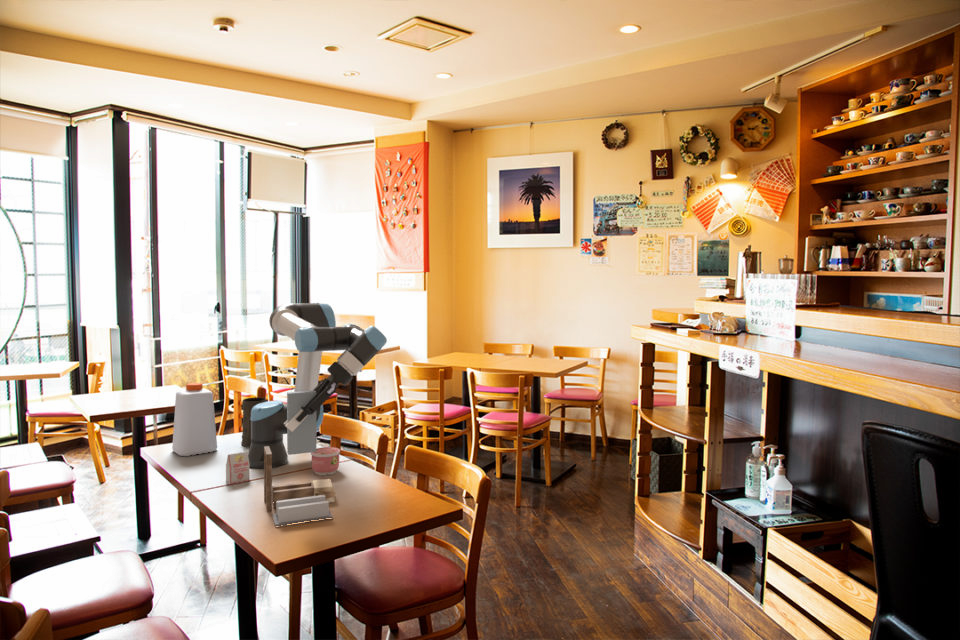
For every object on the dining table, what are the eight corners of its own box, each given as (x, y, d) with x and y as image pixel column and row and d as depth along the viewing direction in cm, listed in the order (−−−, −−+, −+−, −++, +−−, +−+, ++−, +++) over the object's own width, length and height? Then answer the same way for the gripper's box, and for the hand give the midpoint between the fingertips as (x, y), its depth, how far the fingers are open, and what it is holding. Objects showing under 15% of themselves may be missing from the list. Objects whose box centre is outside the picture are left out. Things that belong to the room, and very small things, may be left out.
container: (311, 477, 208) (311, 455, 208) (310, 469, 218) (310, 448, 218) (341, 475, 212) (341, 453, 211) (338, 466, 222) (338, 446, 221)
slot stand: (327, 508, 179) (327, 493, 179) (332, 519, 171) (332, 503, 171) (272, 516, 172) (272, 500, 172) (275, 527, 164) (275, 510, 164)
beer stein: (237, 442, 254) (237, 397, 252) (261, 438, 261) (262, 395, 258) (249, 452, 242) (249, 406, 240) (274, 448, 249) (275, 403, 247)
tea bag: (226, 481, 202) (225, 453, 202) (245, 477, 207) (245, 450, 206) (230, 484, 200) (229, 455, 199) (249, 480, 204) (249, 452, 204)
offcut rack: (330, 492, 194) (330, 440, 193) (335, 502, 184) (335, 447, 184) (264, 500, 185) (263, 446, 184) (266, 511, 176) (266, 454, 175)
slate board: (315, 449, 175) (314, 390, 174) (316, 451, 173) (316, 391, 172) (287, 452, 171) (287, 392, 171) (288, 454, 169) (288, 393, 168)
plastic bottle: (208, 444, 250) (208, 379, 249) (220, 451, 239) (219, 384, 238) (169, 450, 240) (169, 383, 239) (180, 458, 229) (179, 388, 228)
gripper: (359, 380, 170) (301, 441, 164) (348, 373, 185) (293, 430, 178) (341, 363, 168) (281, 424, 162) (331, 357, 182) (275, 414, 176)
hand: (288, 427), depth 170 cm, fingers closed on slate board, 2 cm apart
